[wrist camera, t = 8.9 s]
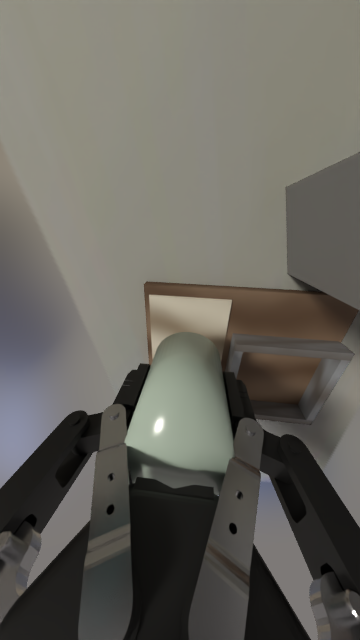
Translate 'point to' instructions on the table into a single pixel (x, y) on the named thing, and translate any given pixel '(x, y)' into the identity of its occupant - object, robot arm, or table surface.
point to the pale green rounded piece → (182, 416)
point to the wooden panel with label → (261, 340)
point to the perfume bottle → (326, 230)
